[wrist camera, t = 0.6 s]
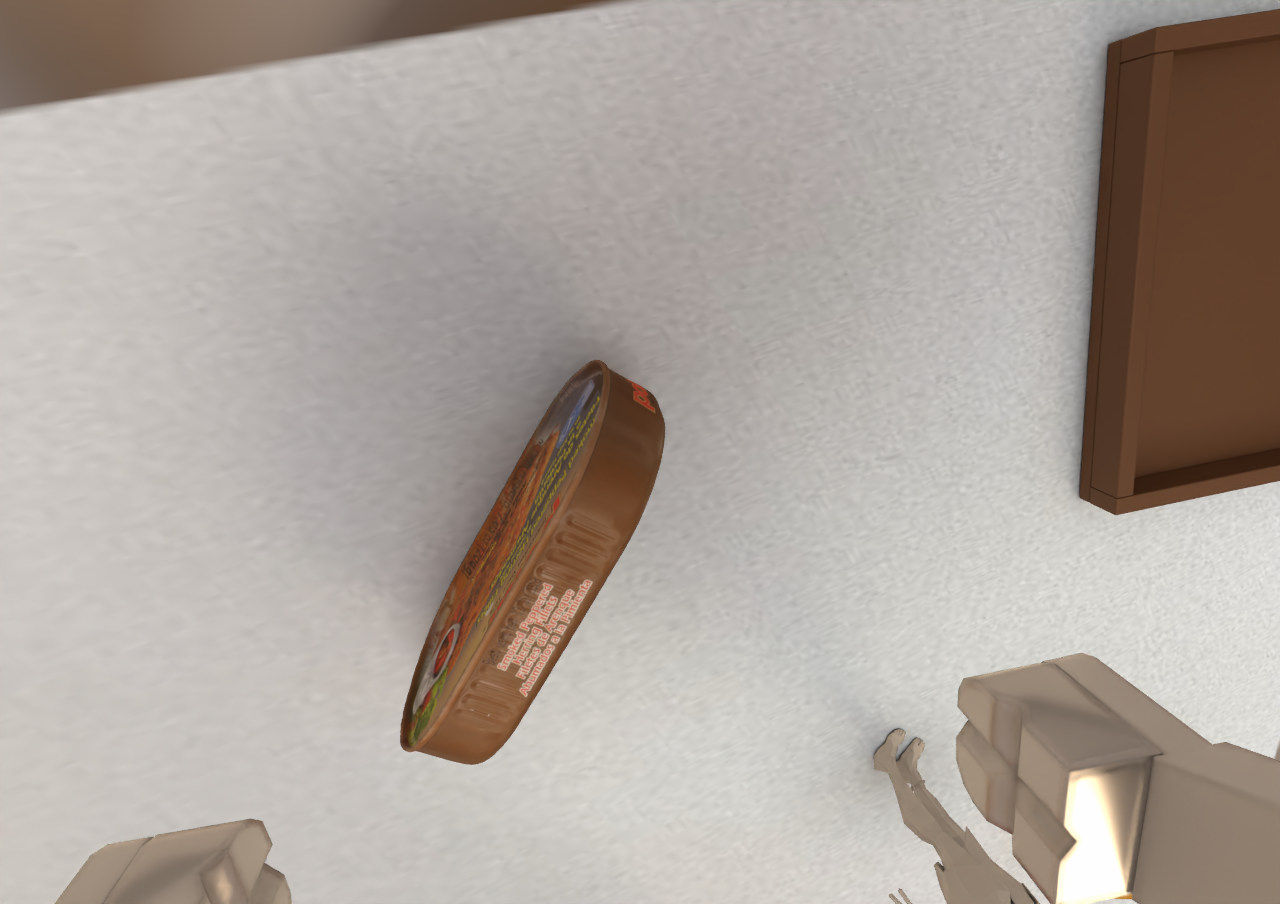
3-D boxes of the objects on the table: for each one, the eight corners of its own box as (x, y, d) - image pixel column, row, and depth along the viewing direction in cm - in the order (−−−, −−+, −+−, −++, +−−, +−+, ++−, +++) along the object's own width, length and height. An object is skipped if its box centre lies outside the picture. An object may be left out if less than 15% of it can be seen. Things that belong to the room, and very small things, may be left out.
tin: (585, 339, 26) (604, 384, 18) (655, 378, 27) (703, 438, 19) (414, 646, 29) (364, 803, 21) (481, 673, 29) (458, 834, 22)
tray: (1108, 43, 25) (1156, 26, 23) (1407, -1, 26) (1478, -21, 24) (1078, 498, 31) (1115, 515, 29) (1323, 447, 32) (1374, 461, 30)
